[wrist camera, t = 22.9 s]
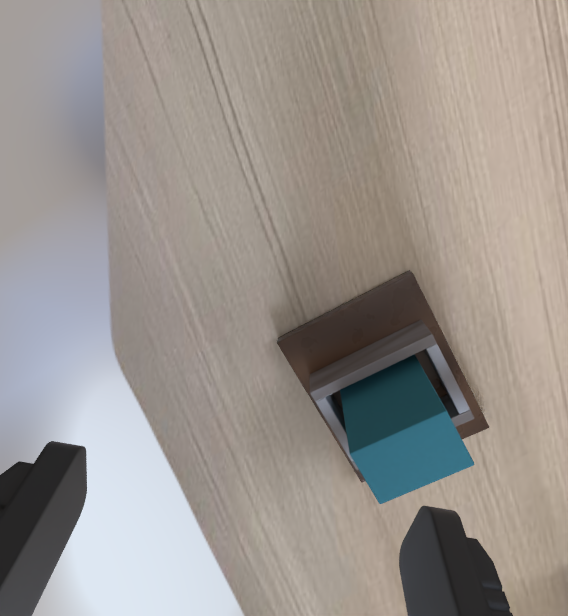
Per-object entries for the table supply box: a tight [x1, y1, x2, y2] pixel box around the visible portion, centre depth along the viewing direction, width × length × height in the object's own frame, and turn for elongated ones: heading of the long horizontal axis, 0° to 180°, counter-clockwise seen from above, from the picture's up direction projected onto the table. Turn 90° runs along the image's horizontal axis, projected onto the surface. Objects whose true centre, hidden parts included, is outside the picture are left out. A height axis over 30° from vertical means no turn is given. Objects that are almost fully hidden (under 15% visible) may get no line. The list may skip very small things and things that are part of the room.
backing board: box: [277, 270, 489, 482], centre depth 34 cm, size 14×11×4 cm
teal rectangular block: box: [340, 354, 474, 504], centre depth 31 cm, size 4×6×9 cm, turn 120°
